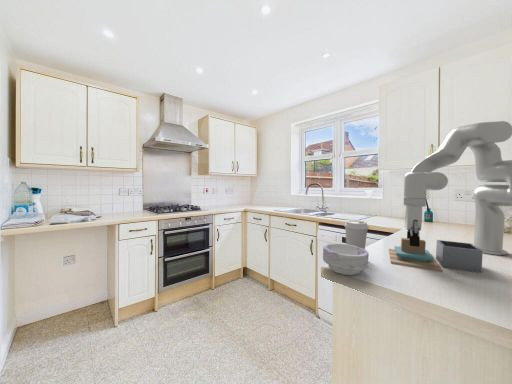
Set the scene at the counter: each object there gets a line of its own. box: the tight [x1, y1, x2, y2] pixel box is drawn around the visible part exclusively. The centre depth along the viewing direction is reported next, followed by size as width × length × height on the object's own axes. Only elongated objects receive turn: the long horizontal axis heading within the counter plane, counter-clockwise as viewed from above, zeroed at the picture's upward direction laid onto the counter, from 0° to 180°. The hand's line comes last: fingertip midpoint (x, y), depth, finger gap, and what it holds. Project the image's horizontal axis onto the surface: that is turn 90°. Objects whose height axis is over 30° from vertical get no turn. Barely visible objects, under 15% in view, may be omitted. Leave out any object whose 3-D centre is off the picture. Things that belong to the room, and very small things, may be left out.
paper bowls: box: [322, 242, 369, 276], centre depth 81 cm, size 15×15×8 cm
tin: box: [435, 239, 484, 274], centre depth 87 cm, size 11×11×8 cm
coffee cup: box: [343, 220, 370, 250], centre depth 96 cm, size 10×10×15 cm
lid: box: [394, 237, 435, 262], centre depth 94 cm, size 12×12×8 cm
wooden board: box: [388, 248, 443, 272], centre depth 94 cm, size 20×16×1 cm
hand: (412, 243), depth 94 cm, fingers open, 9 cm apart
